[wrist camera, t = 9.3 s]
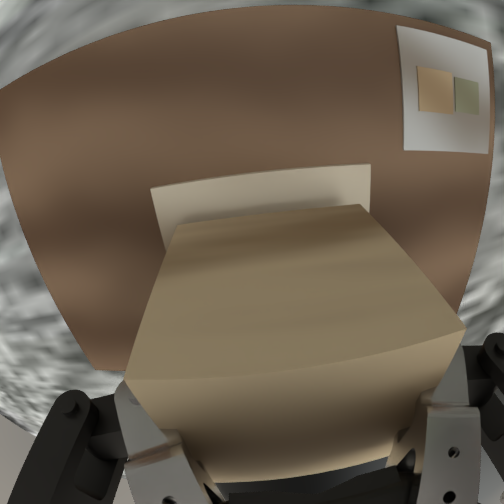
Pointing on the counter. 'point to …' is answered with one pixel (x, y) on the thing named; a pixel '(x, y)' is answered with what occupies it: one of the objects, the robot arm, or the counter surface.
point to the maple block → (289, 342)
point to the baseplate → (244, 146)
